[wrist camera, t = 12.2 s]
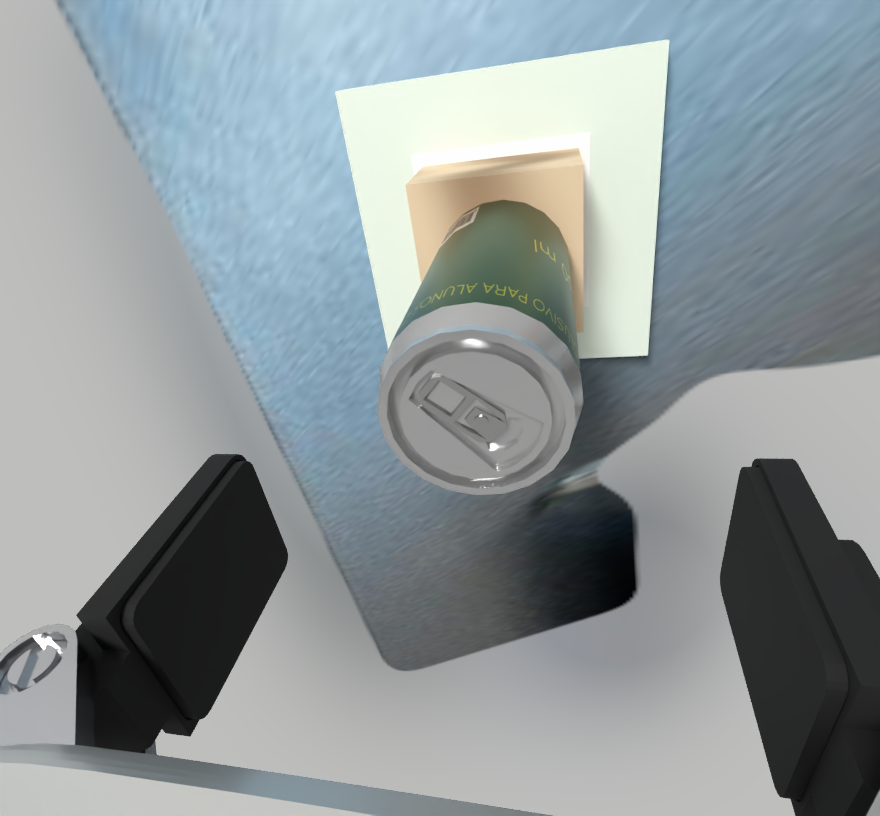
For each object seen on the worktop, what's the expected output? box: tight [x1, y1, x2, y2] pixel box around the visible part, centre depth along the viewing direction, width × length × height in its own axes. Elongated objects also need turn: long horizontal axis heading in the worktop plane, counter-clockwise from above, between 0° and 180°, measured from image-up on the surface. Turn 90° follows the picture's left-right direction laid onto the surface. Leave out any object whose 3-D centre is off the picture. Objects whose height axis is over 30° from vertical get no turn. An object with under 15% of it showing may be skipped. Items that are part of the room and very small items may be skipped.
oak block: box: [406, 148, 584, 333], centre depth 25 cm, size 7×7×4 cm
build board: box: [335, 40, 669, 359], centre depth 28 cm, size 14×14×1 cm
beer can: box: [378, 200, 584, 495], centre depth 19 cm, size 5×5×12 cm
